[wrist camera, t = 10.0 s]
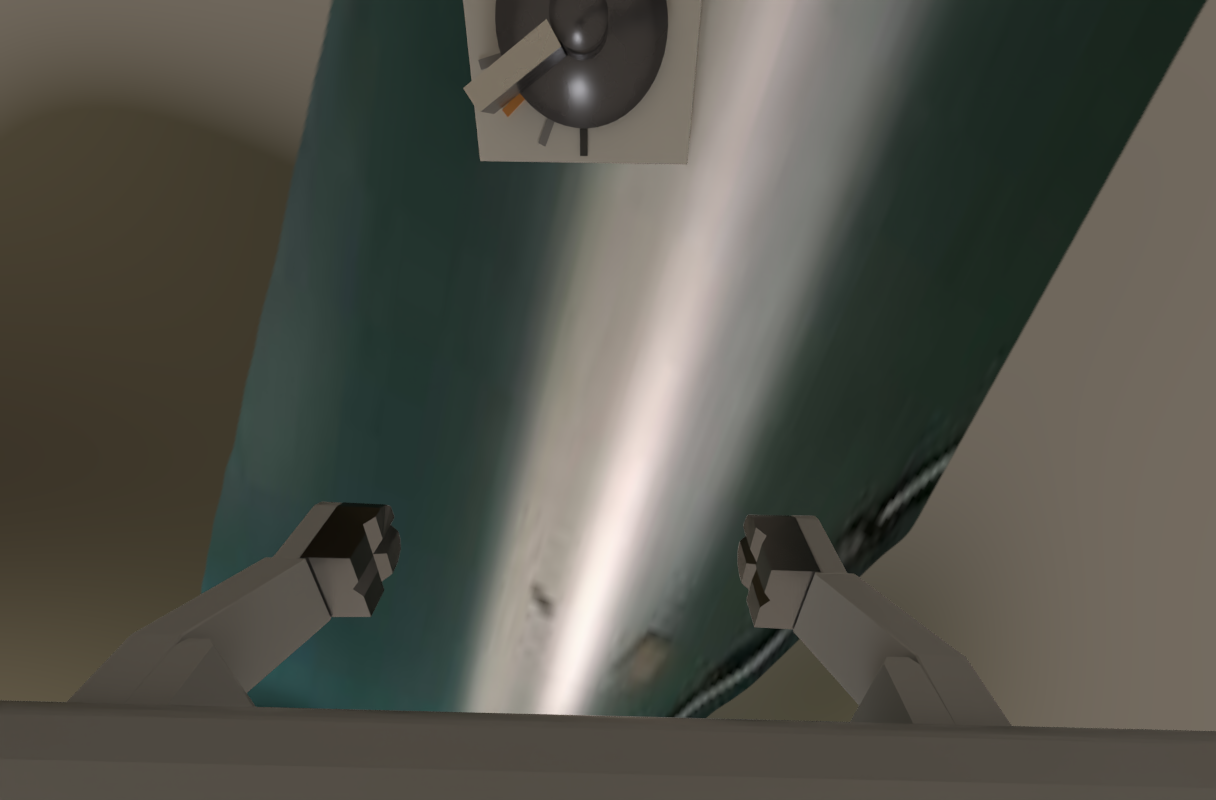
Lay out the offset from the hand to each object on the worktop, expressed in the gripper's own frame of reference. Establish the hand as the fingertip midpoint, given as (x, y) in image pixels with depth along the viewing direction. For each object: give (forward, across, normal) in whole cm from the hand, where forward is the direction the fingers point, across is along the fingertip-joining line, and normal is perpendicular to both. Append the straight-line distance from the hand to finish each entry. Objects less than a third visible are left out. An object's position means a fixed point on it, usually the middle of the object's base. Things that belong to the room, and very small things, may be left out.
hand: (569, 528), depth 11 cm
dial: (+27, +2, -12) cm, 30 cm away
